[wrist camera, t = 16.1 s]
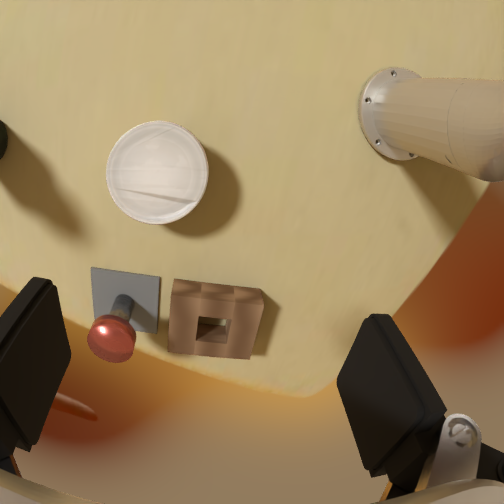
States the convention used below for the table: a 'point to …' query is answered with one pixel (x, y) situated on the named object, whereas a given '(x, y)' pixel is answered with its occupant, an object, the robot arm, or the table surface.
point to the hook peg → (114, 332)
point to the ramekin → (157, 172)
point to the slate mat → (133, 285)
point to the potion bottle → (2, 139)
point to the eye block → (215, 306)
